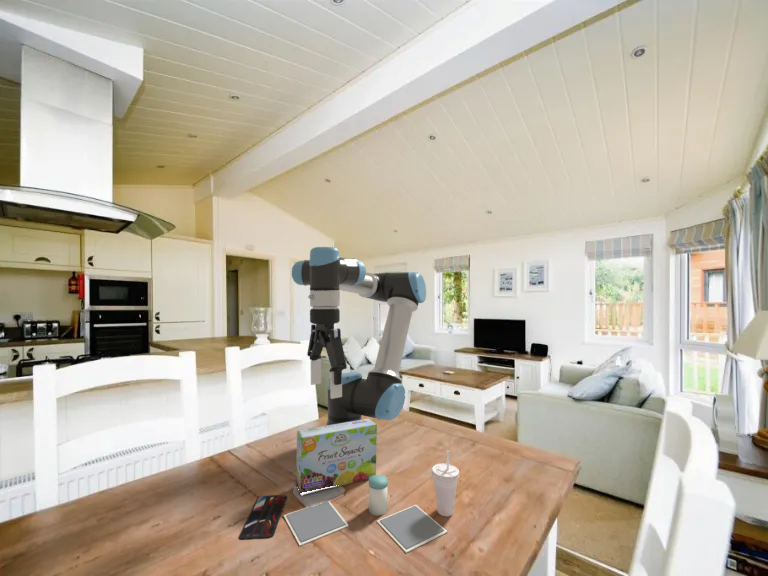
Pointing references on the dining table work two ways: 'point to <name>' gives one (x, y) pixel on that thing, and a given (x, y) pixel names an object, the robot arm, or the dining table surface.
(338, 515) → the plate
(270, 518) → the smartphone
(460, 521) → the dining table surface
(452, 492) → the smoothie
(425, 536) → the mat drink
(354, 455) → the snack box
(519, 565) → the dining table surface
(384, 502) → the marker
